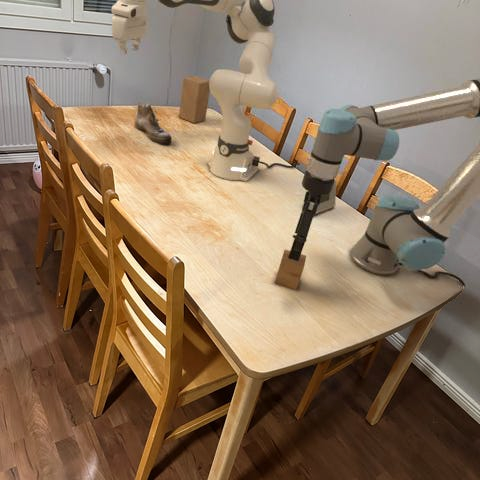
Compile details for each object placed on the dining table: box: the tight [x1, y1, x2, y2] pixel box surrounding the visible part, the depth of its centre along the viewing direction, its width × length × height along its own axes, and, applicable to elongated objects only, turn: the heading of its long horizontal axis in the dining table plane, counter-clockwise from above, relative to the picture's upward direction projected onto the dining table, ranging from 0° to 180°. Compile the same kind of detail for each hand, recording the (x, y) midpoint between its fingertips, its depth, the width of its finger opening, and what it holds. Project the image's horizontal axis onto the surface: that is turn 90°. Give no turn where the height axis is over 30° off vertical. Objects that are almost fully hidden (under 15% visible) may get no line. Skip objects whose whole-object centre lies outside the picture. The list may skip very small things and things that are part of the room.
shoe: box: [134, 102, 172, 145], centre depth 194 cm, size 25×11×12 cm, turn 30°
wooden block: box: [178, 75, 211, 124], centre depth 221 cm, size 10×10×20 cm
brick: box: [274, 249, 307, 291], centre depth 123 cm, size 5×6×9 cm
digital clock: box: [302, 180, 337, 215], centre depth 164 cm, size 16×9×11 cm, turn 123°
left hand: (129, 51), depth 155 cm, fingers open, 8 cm apart
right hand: (296, 245), depth 118 cm, fingers open, 13 cm apart
